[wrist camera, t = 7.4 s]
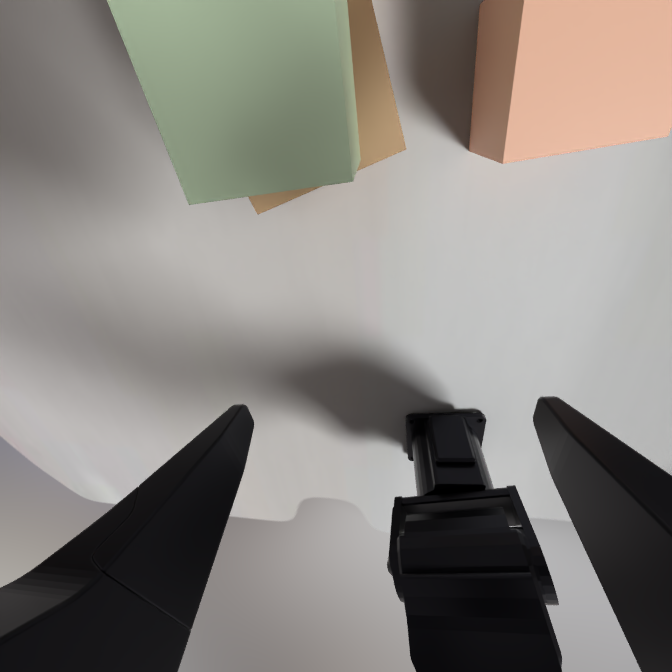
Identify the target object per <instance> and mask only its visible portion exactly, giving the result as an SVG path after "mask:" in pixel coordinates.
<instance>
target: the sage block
mask: <svg viewBox="0 0 672 672" xmlns="http://www.w3.org/2000/svg"><path fill="white" fill-rule="evenodd" d="M107 2H108V5H109V7H110V10H111V12H112V15H113V17H114V20H115V22H116V25H117V27H118V30H119V32H120V34H121V37H122V39H123V42H124V44H125V47H126V49H127V52H128V54H129V57H130V59H131V62H132V64H133V67H134V69H135V72H136V74H137V77H138V79H139V82H140V84H141V87H142V89H143V92H144V94H145V97H146V99H147V102H148V104H149V107H150V109H151V111H152V114H153V116H154V119H155V121H156V124H157V126H158V129H159V131H160V134H161V136H162V139H163V141H164V144H165V146H166V149H167V151H168V154H169V156H170V159H171V161H172V164H173V166H174V169H175V171H176V174H177V176H178V179H179V181H180V184H181V186H182V188H183V191H184V193H185V196H186V198H187V201H188V203H189V205H192V204H199V203H206V202H213V201H220V200H227V199H234V198H241V197H248V196H255V195H262V194H269V193H276V192H283V191H290V190H297V189H304V188H311V187H318V186H325V185H332V184H339V183H346V182H353V180H354V177H355V174H356V172H357V169H358V166H359V163H360V161H361V158H360V146H359V134H358V123H357V111H356V99H355V87H354V75H353V63H352V52H351V40H350V28H349V16H348V4H347V0H107Z"/></svg>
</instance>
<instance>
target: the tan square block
mask: <svg viewBox="0 0 672 672" xmlns="http://www.w3.org/2000/svg"><path fill="white" fill-rule="evenodd" d="M347 4H348V16H349V28H350V40H351V52H352V63H353V75H354V87H355V99H356V111H357V123H358V134H359V146H360V158H361V161H360V163H359V166H358V169H357V171H358V170H360V169H363V168H365V167H367V166H369V165H372V164H374V163H376V162H378V161H381V160H383V159H385V158H388V157H390V156H392V155H394V154H397V153H399V152H401V151H403V150H406V146H405V142H404V137H403V133H402V129H401V124H400V120H399V116H398V112H397V107H396V103H395V99H394V94H393V90H392V86H391V82H390V77H389V73H388V69H387V64H386V60H385V56H384V52H383V47H382V43H381V39H380V34H379V30H378V26H377V22H376V17H375V13H374V9H373V5H372V0H347ZM319 187H322V186H318V187H311V188H304V189H297V190H290V191H283V192H276V193H269V194H262V195H255V196H248V197H249V199H250V201H251V203H252V205H253V207H254V209H255V211H256V212H257V214H260V213H262V212H265V211H267V210H269V209H272V208H274V207H276V206H278V205H281V204H283V203H285V202H287V201H290V200H292V199H294V198H297V197H299V196H301V195H303V194H306V193H308V192H310V191H312V190H315V189H317V188H319Z"/></svg>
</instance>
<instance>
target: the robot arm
mask: <svg viewBox="0 0 672 672" xmlns="http://www.w3.org/2000/svg"><path fill="white" fill-rule="evenodd" d="M533 422H534V426H535V429H536V432H537V435H538V438H539V441H540V444H541V447H542V450H543V453H544V456H545V459H546V462H547V465H548V468H549V471H550V474H551V476H552V479H553V481H554V483H555V486H556V488H557V490H558V492H559V494H560V496H561V498H562V501H563V503H564V505H565V507H566V509H567V511H568V514H569V516H570V518H571V520H572V522H573V524H574V527H575V529H576V531H577V533H578V535H579V537H580V540H581V542H582V544H583V546H584V548H585V550H586V552H587V555H588V557H589V559H590V561H591V563H592V565H593V567H594V570H595V572H596V574H597V576H598V578H599V581H600V583H601V585H602V587H603V589H604V591H605V593H606V596H607V598H608V600H609V602H610V604H611V606H612V609H613V611H614V613H615V615H616V617H617V619H618V622H619V624H620V626H621V628H622V630H623V632H624V634H625V637H626V639H627V641H628V643H629V645H630V647H631V649H632V652H633V654H634V656H635V658H636V660H637V663H638V665H639V667H640V669H641V671H642V672H672V476H671V475H670V474H669V473H667V472H666V471H664V470H663V469H661V468H660V467H658V466H657V465H655V464H654V463H653V462H651V461H650V460H648V459H647V458H645V457H644V456H642V455H641V454H639V453H638V452H637V451H635V450H634V449H632V448H631V447H629V446H628V445H626V444H625V443H624V442H622V441H621V440H619V439H618V438H616V437H615V436H613V435H612V434H610V433H609V432H608V431H606V430H605V429H603V428H602V427H600V426H599V425H597V424H596V423H594V422H593V421H592V420H590V419H589V418H587V417H586V416H584V415H583V414H581V413H580V412H579V411H577V410H576V409H574V408H573V407H571V406H570V405H568V404H567V403H565V402H564V401H563V400H561V399H560V398H558V397H554V396H550V397H540V398H539V399H538V401H537V405H536V408H535V412H534V415H533ZM485 424H486V418H485V415H484V414H482V413H453V414H411V415H408V416H406V432H407V450H408V459H409V460H410V461H414V469H415V478H416V488H417V496H414V497H403V498H402V496H400V497H395V500H394V507H393V511H392V523H391V535H390V548H389V557H388V562H387V567H388V571H389V573H390V574H391V575H392V576H393V580H394V585H395V589H396V592H397V595H398V597H399V599H400V601H402V602H404V603H405V610H406V616H407V625H408V635H409V646H410V656H411V660H412V663H413V665H414V667H415V669H416V672H562V669H561V665H562V656H561V651H560V648H559V645H558V642H557V639H556V636H555V633H554V629H553V626H552V623H551V620H550V617H549V614H548V611H547V608H546V605H559V603H558V598H557V595H556V591H555V588H554V585H553V581H552V579H551V575H550V572H549V570H548V567H547V564H546V561H545V558H544V556H543V553H542V550H541V548H540V545H539V543H538V540H537V538H536V535H535V533H534V530H533V528H532V525H531V523H530V521H529V518H528V516H527V513H526V511H525V508H524V506H523V504H522V501H521V499H520V496H519V494H518V492H517V489H516V487H515V485H513V486H507V488H497V489H494V488H493V485H492V481H491V478H490V475H489V472H488V469H487V465H486V462H485V459H484V456H483V453H482V449H481V446H482V441H483V435H484V430H485ZM253 429H254V420H253V418H252V416H251V414H250V412H249V410H248V407H247V406H246V405H244V404H242V405H233V406H232V407H230V408H229V409H228V410H227V411H226V412H225V413H223V414H222V415H221V416H220V417H219V418H218V419H216V420H215V421H214V422H213V423H212V424H210V425H209V426H208V427H207V428H206V429H205V430H203V431H202V432H201V433H200V434H199V435H198V436H196V437H195V438H194V439H193V440H192V441H191V442H189V443H188V444H187V445H186V446H185V447H184V448H182V449H181V450H180V451H179V452H178V453H177V454H175V455H174V456H173V457H172V458H171V459H170V460H168V461H167V462H166V463H165V464H164V465H163V466H161V467H160V468H159V469H158V470H157V471H156V472H154V473H153V474H152V475H151V476H150V477H148V478H147V479H146V480H145V481H144V482H143V483H141V484H140V485H139V487H137V488H136V489H134V490H133V491H132V492H131V493H130V494H128V495H127V496H126V497H125V498H124V499H123V500H121V501H120V502H119V503H118V504H117V505H115V506H114V507H113V508H112V509H110V510H109V511H108V512H107V513H106V514H104V515H103V516H102V517H100V518H99V519H98V520H97V521H95V522H94V523H93V524H92V525H90V526H89V527H88V528H86V529H85V530H84V531H82V532H81V533H80V534H79V535H77V536H76V537H75V538H73V539H72V540H71V541H69V542H68V543H67V544H65V545H64V546H63V547H62V548H60V549H59V550H58V551H56V552H55V553H54V554H52V555H51V556H50V557H48V558H47V559H46V560H44V561H43V562H42V563H41V564H39V565H38V566H36V567H35V568H34V569H32V570H31V571H30V572H28V573H26V574H25V575H23V576H22V577H20V578H18V579H17V580H15V581H13V582H11V583H9V584H7V585H5V586H3V587H1V588H0V672H178V669H179V666H180V663H181V660H182V656H183V654H184V651H185V648H186V645H187V642H188V638H189V635H190V632H191V629H192V626H193V623H194V620H195V617H196V614H197V611H198V608H199V605H200V602H201V599H202V596H203V593H204V590H205V587H206V584H207V581H208V578H209V575H210V572H211V569H212V566H213V563H214V560H215V557H216V554H217V550H218V548H219V545H220V542H221V539H222V536H223V533H224V530H225V527H226V524H227V520H228V518H229V515H230V512H231V509H232V506H233V503H234V500H235V497H236V494H237V491H238V488H239V485H240V481H241V478H242V475H243V472H244V469H245V465H246V460H247V456H248V451H249V447H250V442H251V438H252V433H253ZM509 526H517V527H509Z"/></svg>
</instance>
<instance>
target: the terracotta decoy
mask: <svg viewBox="0 0 672 672" xmlns="http://www.w3.org/2000/svg"><path fill="white" fill-rule="evenodd" d="M671 128H672V0H484V1H483V2H482V3H481V4H480V8H479V22H478V35H477V49H476V63H475V76H474V90H473V103H472V117H471V131H470V144H469V151H470V152H473V153H475V154H478V155H481V156H483V157H486V158H489V159H491V160H494V161H497V162H499V163H502V164H504V163H510V162H516V161H522V160H528V159H534V158H540V157H546V156H552V155H559V154H565V153H571V152H577V151H583V150H589V149H595V148H601V147H607V146H613V145H619V144H625V143H631V142H637V141H643V140H649V139H655V138H661V137H667V136H668V135H669V133H670V130H671Z"/></svg>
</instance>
